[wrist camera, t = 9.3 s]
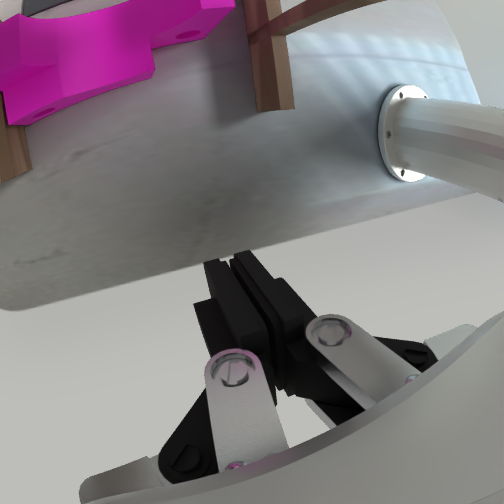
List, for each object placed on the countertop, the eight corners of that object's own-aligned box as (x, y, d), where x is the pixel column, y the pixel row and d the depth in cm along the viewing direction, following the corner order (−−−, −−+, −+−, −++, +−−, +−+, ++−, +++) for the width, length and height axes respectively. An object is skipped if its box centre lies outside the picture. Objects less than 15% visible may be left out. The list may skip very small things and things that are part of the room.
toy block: (29, 125, 15) (-11, 125, 9) (19, 58, 12) (-19, 35, 6) (208, 66, 19) (243, 41, 13) (195, 3, 16) (225, -38, 10)
